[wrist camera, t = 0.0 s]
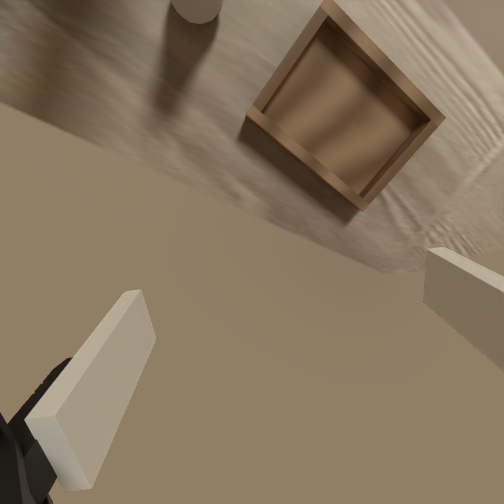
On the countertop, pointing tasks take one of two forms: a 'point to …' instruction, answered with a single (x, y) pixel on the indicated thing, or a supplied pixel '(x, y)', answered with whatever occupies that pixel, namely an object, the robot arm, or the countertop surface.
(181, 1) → the salt shaker
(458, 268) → the robot arm
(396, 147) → the walnut tray
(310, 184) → the countertop surface
